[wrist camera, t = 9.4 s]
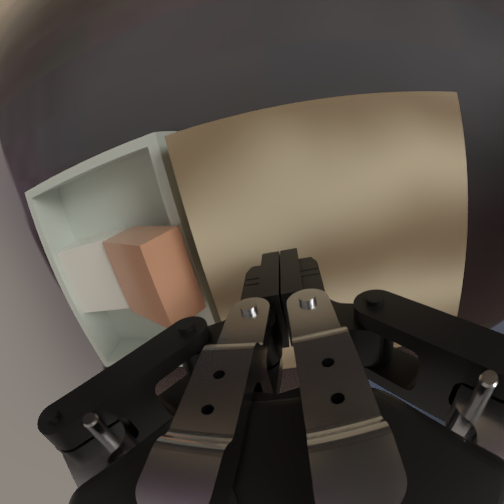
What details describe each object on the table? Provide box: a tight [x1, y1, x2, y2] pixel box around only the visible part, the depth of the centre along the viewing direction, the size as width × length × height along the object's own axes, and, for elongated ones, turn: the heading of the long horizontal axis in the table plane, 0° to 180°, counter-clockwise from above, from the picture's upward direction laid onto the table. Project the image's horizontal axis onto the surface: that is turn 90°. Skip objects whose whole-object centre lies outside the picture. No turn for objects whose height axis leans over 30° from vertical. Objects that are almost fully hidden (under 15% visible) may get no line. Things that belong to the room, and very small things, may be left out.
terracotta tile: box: [102, 226, 206, 328], centre depth 16 cm, size 5×5×2 cm
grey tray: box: [25, 131, 221, 367], centre depth 18 cm, size 15×11×4 cm
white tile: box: [57, 226, 130, 313], centre depth 19 cm, size 5×5×2 cm
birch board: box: [164, 91, 468, 369], centre depth 16 cm, size 14×14×5 cm
